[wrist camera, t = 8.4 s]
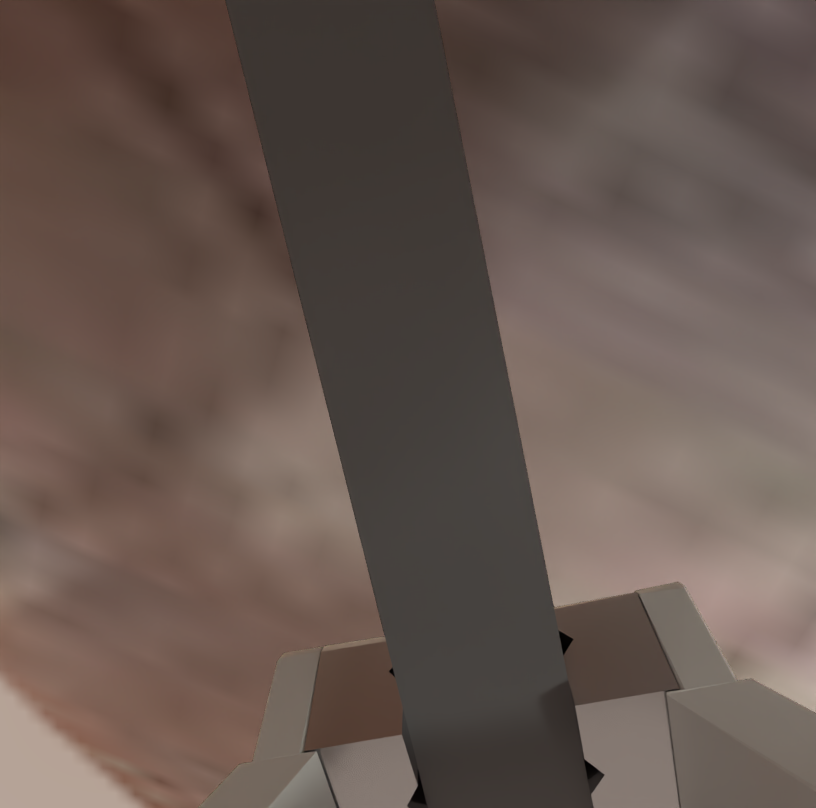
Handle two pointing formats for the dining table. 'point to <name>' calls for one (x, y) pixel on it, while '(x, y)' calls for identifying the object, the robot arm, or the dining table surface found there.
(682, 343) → the dining table surface
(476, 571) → the hoe scraper
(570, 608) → the robot arm
